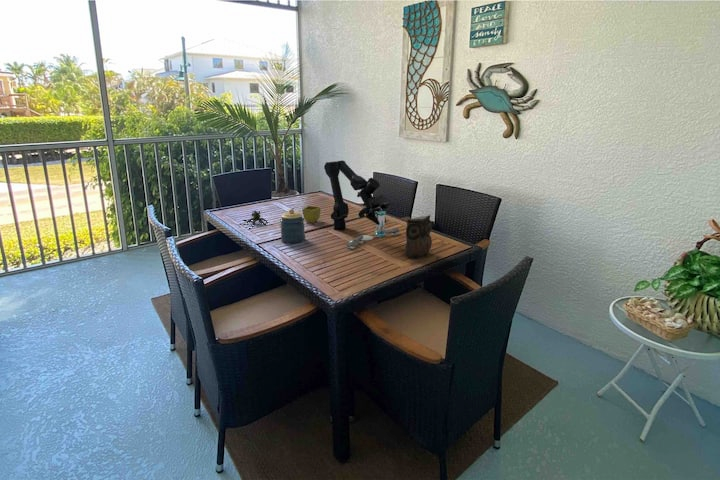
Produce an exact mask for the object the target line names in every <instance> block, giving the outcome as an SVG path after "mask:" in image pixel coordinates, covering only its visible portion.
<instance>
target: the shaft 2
mask: <svg viewBox="0 0 720 480" xmlns="http://www.w3.org/2000/svg"><path fill="white" fill-rule="evenodd" d="M375 232H376V230H375V231H374V232H373V233H374V235H375ZM384 232H385V235H388V234H390V235H392V236H397V235H398V233H399V228H397V227H396V228H391V229H385V230H384Z"/></svg>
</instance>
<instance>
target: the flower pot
mask: <svg viewBox="0 0 720 480" xmlns="http://www.w3.org/2000/svg"><path fill="white" fill-rule="evenodd" d="M301 211H302V217H303V218H304V221H305V222H306V223H311V224H314V223H316V222H318V221H319V218H320V216H321V206H314V205H307V206H306V207H304V208H301Z"/></svg>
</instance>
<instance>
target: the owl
mask: <svg viewBox="0 0 720 480" xmlns="http://www.w3.org/2000/svg"><path fill="white" fill-rule="evenodd" d="M432 226H433V225H432V221H431V215H424V216H416V217H411V218H408V219H407V220H406V228H405V236H406V237H405V238H406V239H405V240H406V243H405V255H406V258H407V259H410V260H417V259H423V258H427V257H428V255H429V254H430V251H431V248H432V244H433V241H432V237H431V235H430V234H431V232H432V229H433V228H432Z"/></svg>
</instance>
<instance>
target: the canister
mask: <svg viewBox="0 0 720 480" xmlns="http://www.w3.org/2000/svg"><path fill="white" fill-rule="evenodd" d="M280 217H281V218H280V219H279V222H280V225H279V227H280V239H281V242H282V241H283V242H282V243H284V242H285V243H284V244H287V243H296V244H300V243H304V241H305V240H306V233H305V232H306V231H305V226H306V225H305V223H304V221H305V219H304V216H303V213H301V212H299V211H296V210H294V208H290V209H289V210H288V211H285V212H283V213H282V214H281V215H280Z"/></svg>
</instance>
